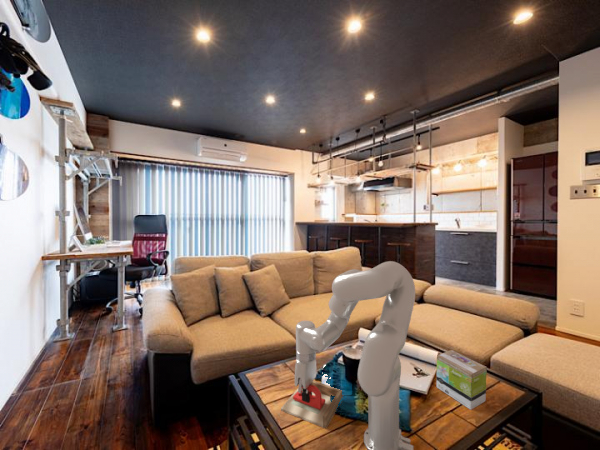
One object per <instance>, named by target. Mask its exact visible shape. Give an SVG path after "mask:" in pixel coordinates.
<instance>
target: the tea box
mask: <svg viewBox="0 0 600 450" xmlns="http://www.w3.org/2000/svg"><path fill="white" fill-rule="evenodd" d="M487 368H488V367H487V366H485V365H484V364H482V363H480V362H477V361H475V360H474V359H471V358H469V357H468V356H465V355H463V354H461V353H458V352H457V351H455V350H453V349H450V350H448V351H445V352H443V353H440V354H438V355H437V356H436V388H437V389H439V391H442V392H443V393H445V394H446V395H447V396H449V397H451V398H453V400H455V401H456V402H458V403H460V404H461V405H463V406H464V407H465V408H467V409H468V410H470V411H471V410H474V409H475V408H476V407H478V406H480V405H481V404H483V403H485V402H486V397H487V396H486V395H487V374H488V373H487Z"/></svg>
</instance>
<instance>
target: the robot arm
mask: <svg viewBox="0 0 600 450" xmlns="http://www.w3.org/2000/svg"><path fill="white" fill-rule="evenodd" d="M331 291H332V295H331V298H329V301H328V308H329V310H330V311H331V312H330V314H329V316H328V317H327V319H326V321H325V322H324V323H322V324H321V325H319V326H318V327H316V325H315V323H314V322H313V321H311V320H301V321H299V322H298V323H296V325H295V350H296V361H295V367H294V386H295V387H297V389H298V392H299V393H302V401H305V402H307V403H309V402H310V394H311V396H312V392H309V390H308V386H309V385H312V384H313V381H315V379H316V377H317V359H316V358H317V352H320V353H321V352H324V351H326V350H327V349H328V348H329V347H330V346H331V345H332V344H334V343H335V341H337V340H338V339H339V338H340V336H341V335H342V333H343V332H344V330H345V329H346V327H347V325H348V324H349V322H350V318H351V315H352V313H353V311H354V309H356V307H357V305H358V304H359V302H360V301H369V300H374V299H375V300H376V299H380V298H384V297H385V299H384V301H383V306H382V310H381V314H380V317H379V320H378V322H377V324H376V325H375V326H374V327H373V329H372V330H371V331H370V332H369V333H368V334H367V336H366V338H365V341H364V343H363V347H362V350H361V356H360V359H359V364H358V368H357V381H358V384H359V386H360V388H361V390H362V391H363V392H364V393H365V394H367V396H368V397H367V398H368V399H367V401H368V404H367V405H368V408H367V409H368V410H367V411H368V427H367V429H366V430H365V431H364V434H363V443H364V446H365V447H366V449H367V450H414V445H412V444H411V438H408V437H405V436H404V435H402V429H401V428H400V384H401V374H402V373H401V372H402V363H401V359H400V357H399V354H400V353H401V352H402V350H403V349H404V346H405V345H406V341H407V335H408V331H409V327H410V323H411V319H412V318H411V317H412V314H413V310H414V305H415V300H416V286H415V281H414V279H413V277H412V275H411V273H410V272H409V271H408V270H407V268H405V266H403V265H402V264H400V263H398V262H396V261H393V260H392V261H391V260H389V261H384V262H382V263H380V264H378V265H376V266H374V267H373V268H370V269H365V270H360V269H356V268H355V269H349V270H346V271H344V272H343V273H340V274H339V275H337V276H336V277H335V278H334V279H333V281H332V284H331ZM303 387H304V388H303Z"/></svg>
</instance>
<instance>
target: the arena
mask: <svg viewBox="0 0 600 450" xmlns="http://www.w3.org/2000/svg"><path fill="white" fill-rule="evenodd" d="M312 385H314V386H316V387H317V388H318V389H319V390H320V392H321V398H322V399H325V403H324V405H323V407H322V408H321V410H320V409H317V408H314V407H312V406H309V405H307V404H304V403H301V402H299V401H296V400H294V399H293V396H294V395H295V394H296V393H297V391H298V388H297V389H295V391H294V392H293V393H292V394H291V396H290V397H288V399H287V400H286V401H285V403H284V404H283V405H282V406H281V408H280V411H281V412H285V413H287V414H289V415H291V416H294V417H296V418H299V419H301V420H304V421H306V422H308V423H310V424H313V425H314V426H315V425H316V426H318V427H321V428H322V429H326V430H327V428H328V426H329V425H330V423H331V421H332V419H333V418H334V416H335V414H336V413H335V412H337V411H336V409H337V407H338V404H339V402H340V400H341V398H342V399H343V395H342V390H340V389H337V388H334V387H331V386H328V385H325V384H322V382H319V381H315V380H313V384H312ZM303 388H304V387H303ZM312 395H314V396H315V394H314V393H313V392H312ZM331 395H332V396H335V397H334V399H333V400H332V402H331V401H330V396H331ZM337 410H338V409H337Z"/></svg>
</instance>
